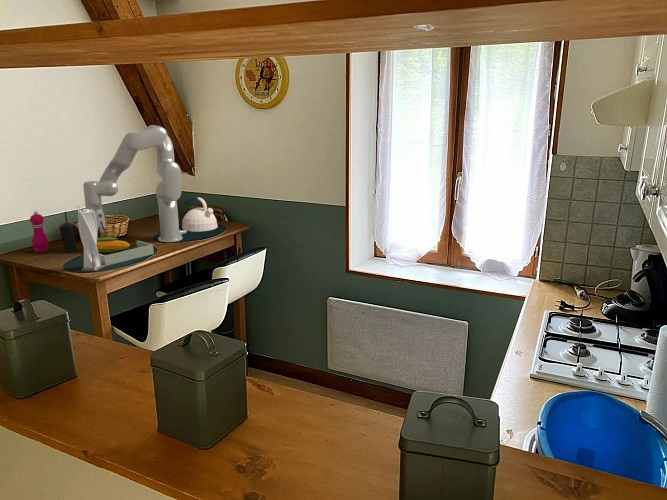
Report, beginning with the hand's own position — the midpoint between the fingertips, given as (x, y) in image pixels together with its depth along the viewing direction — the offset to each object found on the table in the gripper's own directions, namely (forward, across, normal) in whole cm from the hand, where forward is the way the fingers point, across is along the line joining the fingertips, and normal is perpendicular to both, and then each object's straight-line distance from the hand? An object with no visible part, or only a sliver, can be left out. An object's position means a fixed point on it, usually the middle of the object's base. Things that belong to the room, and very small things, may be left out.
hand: (97, 242), depth 278 cm
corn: (+4, -8, -1) cm, 9 cm away
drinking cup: (+4, +7, +11) cm, 13 cm away
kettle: (+3, -2, -62) cm, 63 cm away
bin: (+3, -22, 0) cm, 22 cm away
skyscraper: (+4, -26, +18) cm, 32 cm away
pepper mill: (+4, +20, +19) cm, 28 cm away
